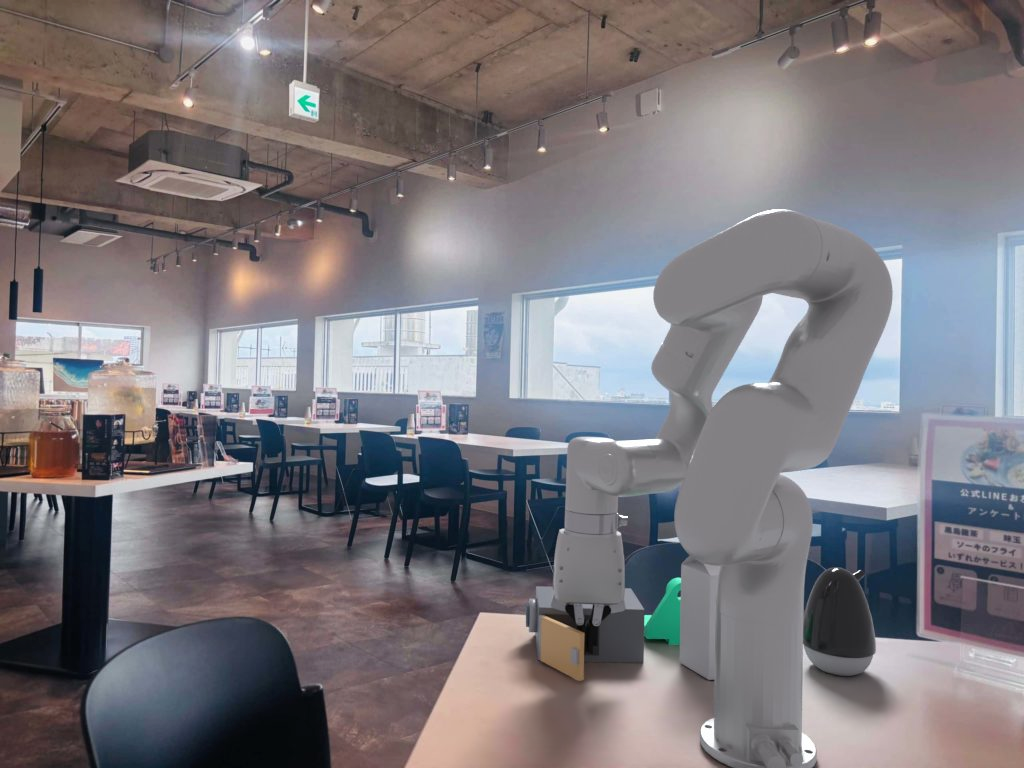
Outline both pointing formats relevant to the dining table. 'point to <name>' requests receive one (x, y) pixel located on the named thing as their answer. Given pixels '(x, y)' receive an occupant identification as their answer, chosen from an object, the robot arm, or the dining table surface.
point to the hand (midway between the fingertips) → (586, 650)
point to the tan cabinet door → (561, 647)
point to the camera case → (615, 632)
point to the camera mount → (666, 616)
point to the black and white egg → (839, 624)
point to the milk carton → (698, 616)
